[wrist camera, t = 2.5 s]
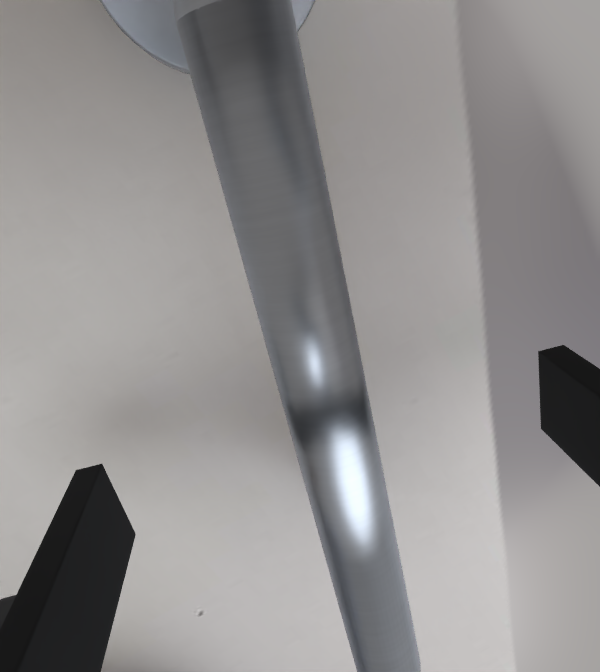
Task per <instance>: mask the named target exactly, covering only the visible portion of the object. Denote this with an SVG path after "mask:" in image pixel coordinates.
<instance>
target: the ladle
mask: <svg viewBox="0 0 600 672" xmlns="http://www.w3.org/2000/svg"><path fill="white" fill-rule="evenodd" d="M100 2H101V3H102V5H103V6H104V8H105V9H106V11H107V13H108V14H109V16H110V17H111V18H112V19H113V20H114V22H115V23H116V24H117V25H118V27H119V28H120V29H121V30H122V31H123V32H124V33H125V34H126V35H127V36H128V37H129V38H130V39H131V40H132V41H133V42H134V43H135V44H137V45H138V46H139V47H140V48H142V49H143V50H144V51H145V52H147V53H148V54H149V55H151V56H152V57H153V58H155V59H156V60H158V61H160V62H162V63H163V64H165V65H167V66H169V67H171V68H173V69H176V70H178V71H181V72H184V73H187V74H190V75H191V78H192V82H193V85H194V89H195V93H196V96H197V100H198V103H199V107H200V110H201V114H202V118H203V121H204V125H205V128H206V132H207V136H208V139H209V143H210V146H211V150H212V153H213V157H214V161H215V164H216V168H217V171H218V175H219V178H220V182H221V186H222V189H223V193H224V196H225V200H226V204H227V207H228V211H229V214H230V218H231V221H232V225H233V229H234V232H235V236H236V239H237V243H238V246H239V250H240V254H241V257H242V261H243V264H244V268H245V272H246V275H247V279H248V282H249V286H250V289H251V293H252V297H253V300H254V304H255V307H256V311H257V315H258V318H259V322H260V325H261V329H262V332H263V336H264V340H265V343H266V347H267V350H268V354H269V357H270V361H271V365H272V368H273V372H274V375H275V379H276V383H277V386H278V390H279V393H280V397H281V400H282V404H283V408H284V411H285V415H286V418H287V422H288V425H289V429H290V433H291V436H292V440H293V443H294V447H295V451H296V454H297V458H298V461H299V465H300V468H301V472H302V476H303V479H304V483H305V486H306V490H307V493H308V497H309V501H310V504H311V508H312V511H313V515H314V519H315V522H316V526H317V529H318V533H319V536H320V540H321V544H322V547H323V551H324V554H325V558H326V562H327V565H328V569H329V572H330V576H331V579H332V583H333V587H334V590H335V594H336V597H337V601H338V604H339V608H340V612H341V615H342V619H343V622H344V626H345V630H346V633H347V637H348V640H349V644H350V647H351V651H352V655H353V658H354V662H355V665H356V669H357V672H421V670H420V657H419V652H418V647H417V642H416V637H415V632H414V627H413V621H412V616H411V611H410V606H409V601H408V596H407V591H406V586H405V581H404V575H403V570H402V565H401V560H400V555H399V550H398V545H397V540H396V535H395V529H394V524H393V519H392V514H391V509H390V504H389V499H388V494H387V488H386V483H385V478H384V473H383V468H382V463H381V458H380V453H379V448H378V442H377V437H376V432H375V427H374V422H373V417H372V412H371V407H370V402H369V396H368V391H367V386H366V381H365V376H364V371H363V366H362V361H361V356H360V350H359V345H358V340H357V335H356V330H355V325H354V320H353V315H352V309H351V304H350V299H349V294H348V289H347V284H346V279H345V274H344V269H343V263H342V258H341V253H340V248H339V243H338V238H337V233H336V228H335V223H334V217H333V212H332V207H331V202H330V197H329V192H328V187H327V182H326V177H325V171H324V166H323V161H322V156H321V151H320V146H319V141H318V136H317V130H316V125H315V120H314V115H313V110H312V105H311V100H310V95H309V90H308V84H307V79H306V74H305V69H304V64H303V59H302V54H301V49H300V44H299V38H298V33H297V32H298V31H299V29H300V27H301V26H302V24H303V23H304V21H305V19H306V18H307V16H308V14H309V12H310V10H311V8H312V6H313V4H314V2H315V0H100Z"/></svg>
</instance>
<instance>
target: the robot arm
mask: <svg viewBox="0 0 600 672" xmlns="http://www.w3.org/2000/svg"><path fill="white" fill-rule="evenodd" d="M538 354H539V382H540V383H539V384H540V412H541V429H542V430H543V431H544V432H545V433H546V434H547V435H548V436H549V437H550V438H551V439H552V440H553V441H554V442H555V443H556V444H557V445H558V446H559V447H560V448H561V449H562V450H563V451H564V452H565V453H566V454H567V455H568V456H569V457H570V458H571V459H572V460H573V461H574V462H575V463H577V465H578V466H579V467H580V468H581V469H582V470H583V471H585V473H587V474H588V475H589V476H590V477H591V478H592V479H593V480H594V481H595V482H596V483H597V484H598V485H599V486H600V369H599V368H597V367H596V366H595V365H593V364H591V363H590V362H588V361H587V360H585V359H584V358H582V357H581V356H579V355H578V354H576V353H575V352H573V351H572V350H570V349H569V348H567V347H566V346H564V345H562V346H558V347H554V348H550V349H546V350H542V351H539V352H538ZM134 538H135V532H134V530H133V528H132V526H131V523H130V521H129V519H128V517H127V515H126V513H125V511H124V509H123V507H122V505H121V502H120V500H119V498H118V496H117V494H116V492H115V490H114V488H113V486H112V484H111V482H110V479H109V477H108V475H107V473H106V471H105V469H104V467H103V465H102V464H99V465H95V466H91V467H87V468H83V469H80V470H76V471H75V474H74V476H73V478H72V480H71V482H70V484H69V486H68V488H67V490H66V492H65V494H64V497H63V499H62V501H61V503H60V505H59V507H58V509H57V511H56V513H55V515H54V518H53V520H52V522H51V524H50V526H49V528H48V530H47V532H46V534H45V536H44V538H43V541H42V543H41V545H40V547H39V549H38V551H37V553H36V555H35V557H34V559H33V561H32V564H31V566H30V568H29V570H28V572H27V574H26V576H25V578H24V580H23V582H22V585H21V587H20V589H19V591H18V593H17V595H15V596H11V597H7V598H3V599H1V600H0V672H101V668H102V664H103V660H104V656H105V652H106V648H107V644H108V640H109V636H110V633H111V629H112V625H113V621H114V617H115V613H116V609H117V605H118V601H119V597H120V593H121V589H122V585H123V581H124V578H125V574H126V570H127V566H128V562H129V558H130V554H131V550H132V546H133V542H134Z"/></svg>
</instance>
